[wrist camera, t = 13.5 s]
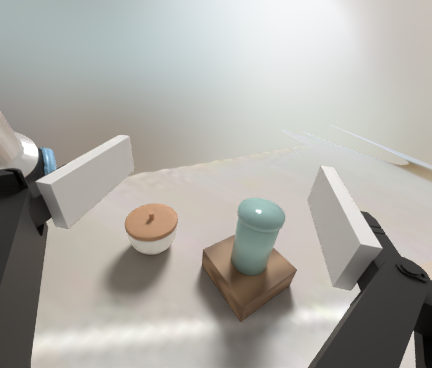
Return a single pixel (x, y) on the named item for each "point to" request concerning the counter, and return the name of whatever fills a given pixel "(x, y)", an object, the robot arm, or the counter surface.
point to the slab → (246, 278)
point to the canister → (255, 235)
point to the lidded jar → (151, 228)
